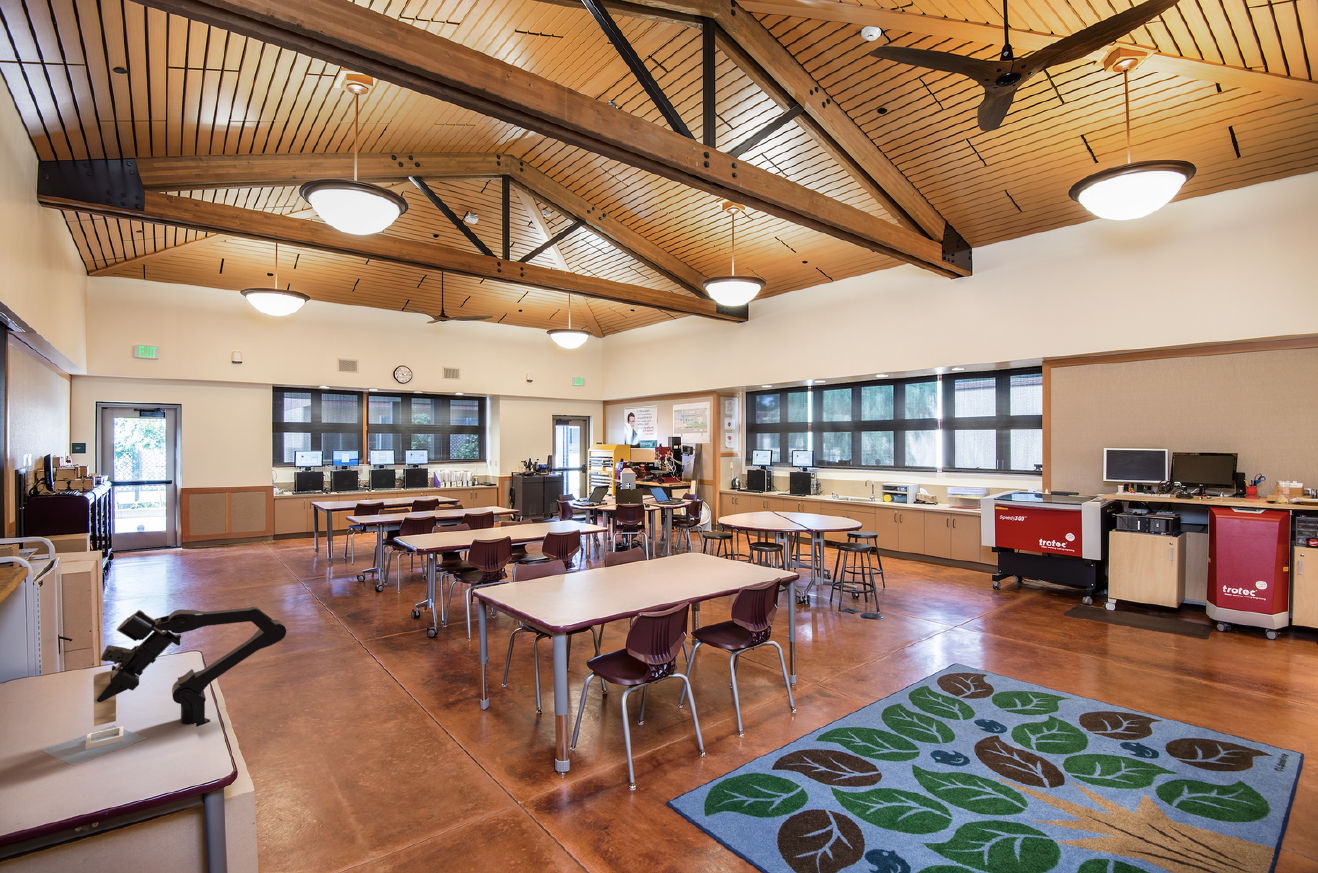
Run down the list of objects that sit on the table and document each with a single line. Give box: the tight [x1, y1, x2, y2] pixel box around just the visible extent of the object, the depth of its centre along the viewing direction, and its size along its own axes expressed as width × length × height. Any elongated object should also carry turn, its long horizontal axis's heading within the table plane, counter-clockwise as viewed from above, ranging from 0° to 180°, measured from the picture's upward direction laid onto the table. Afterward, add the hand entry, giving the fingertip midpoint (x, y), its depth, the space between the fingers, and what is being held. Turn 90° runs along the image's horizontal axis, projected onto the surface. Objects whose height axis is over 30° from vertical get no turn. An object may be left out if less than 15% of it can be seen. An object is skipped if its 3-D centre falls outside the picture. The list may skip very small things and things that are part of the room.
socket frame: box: [85, 725, 125, 750], centre depth 171 cm, size 8×8×2 cm
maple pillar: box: [93, 670, 118, 727], centre depth 171 cm, size 4×4×13 cm
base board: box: [40, 725, 148, 767], centre depth 169 cm, size 18×16×1 cm
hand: (98, 698), depth 170 cm, fingers closed on maple pillar, 4 cm apart
